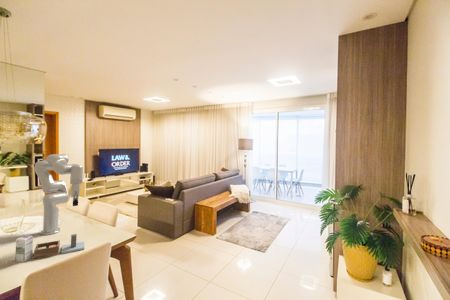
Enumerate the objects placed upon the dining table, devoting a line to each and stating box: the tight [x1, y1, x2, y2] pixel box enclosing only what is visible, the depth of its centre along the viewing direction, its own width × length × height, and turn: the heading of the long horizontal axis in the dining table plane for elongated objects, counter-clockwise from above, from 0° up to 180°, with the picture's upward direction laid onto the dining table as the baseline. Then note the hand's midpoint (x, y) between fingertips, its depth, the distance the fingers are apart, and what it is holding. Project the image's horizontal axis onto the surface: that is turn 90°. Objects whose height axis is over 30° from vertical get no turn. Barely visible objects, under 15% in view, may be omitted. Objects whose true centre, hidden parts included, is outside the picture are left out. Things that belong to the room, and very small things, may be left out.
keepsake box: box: [33, 240, 61, 260], centre depth 139 cm, size 10×12×6 cm
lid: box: [61, 233, 85, 255], centre depth 147 cm, size 11×13×10 cm
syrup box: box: [14, 235, 34, 263], centre depth 131 cm, size 6×6×14 cm
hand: (75, 204), depth 158 cm, fingers open, 9 cm apart
